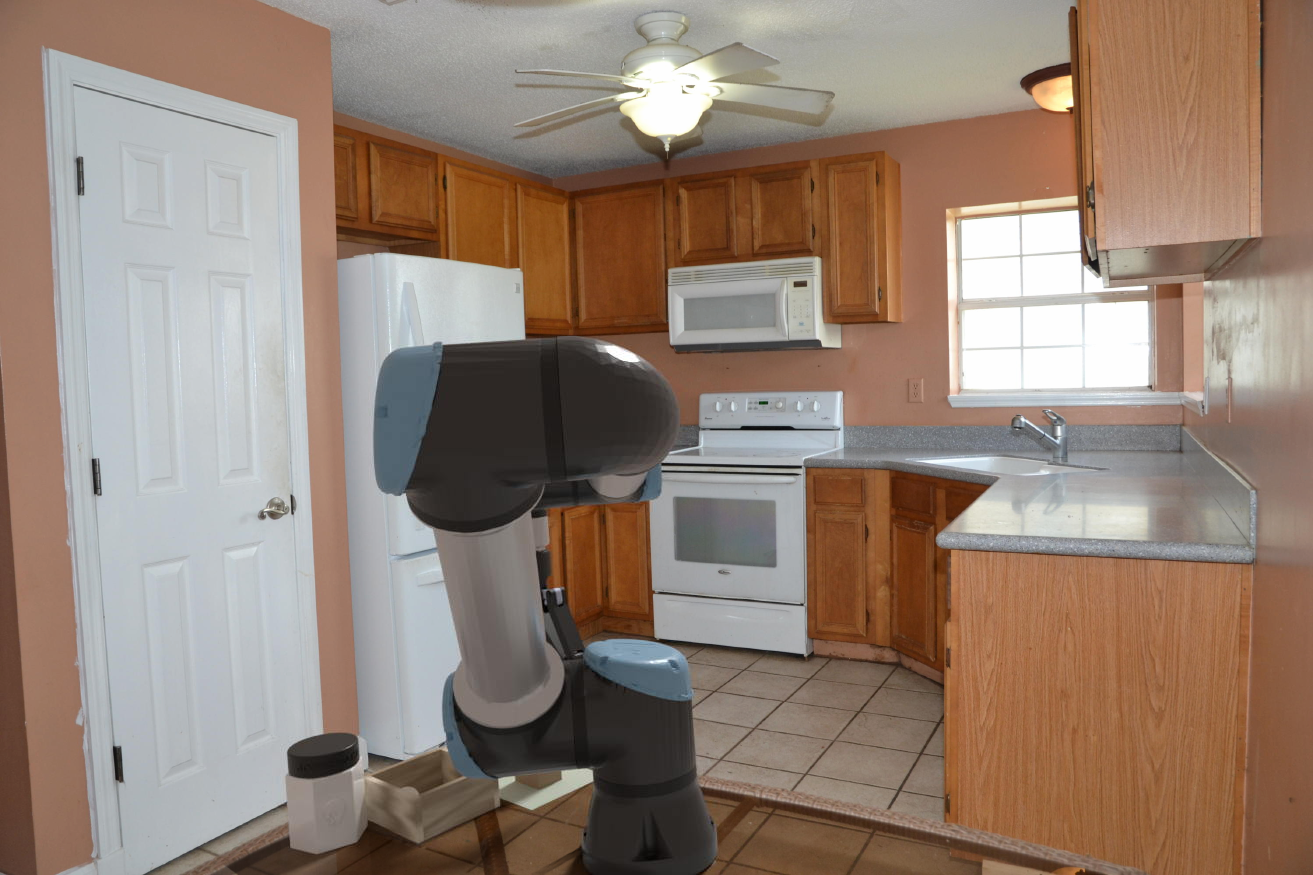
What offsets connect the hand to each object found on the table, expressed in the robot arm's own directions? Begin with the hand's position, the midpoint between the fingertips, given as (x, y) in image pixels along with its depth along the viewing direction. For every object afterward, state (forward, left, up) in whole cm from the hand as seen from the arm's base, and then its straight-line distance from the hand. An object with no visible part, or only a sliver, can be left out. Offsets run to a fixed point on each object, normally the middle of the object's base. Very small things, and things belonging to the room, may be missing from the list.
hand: (532, 707), depth 119 cm
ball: (+7, +16, -10) cm, 20 cm away
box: (+4, +14, -11) cm, 18 cm away
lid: (0, 0, -11) cm, 11 cm away
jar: (+9, +25, -11) cm, 29 cm away
